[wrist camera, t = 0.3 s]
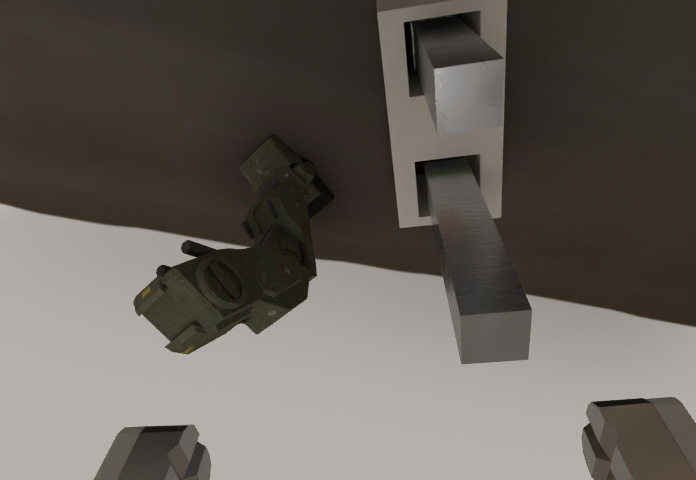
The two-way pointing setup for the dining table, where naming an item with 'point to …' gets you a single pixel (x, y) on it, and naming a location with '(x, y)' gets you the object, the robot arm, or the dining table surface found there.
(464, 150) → the frame
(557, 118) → the dining table surface
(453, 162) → the column
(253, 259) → the mechanical leg
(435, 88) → the column
